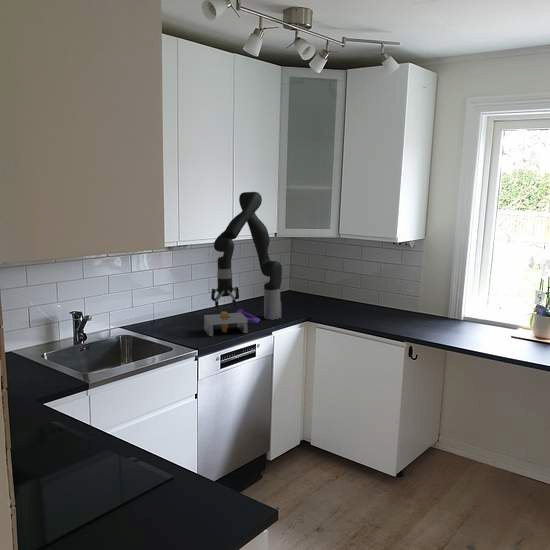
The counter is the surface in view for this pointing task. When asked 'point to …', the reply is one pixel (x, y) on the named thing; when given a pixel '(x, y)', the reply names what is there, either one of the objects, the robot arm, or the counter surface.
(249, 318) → the bracket
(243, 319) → the grey slotted platform
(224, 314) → the orange rectangular block
